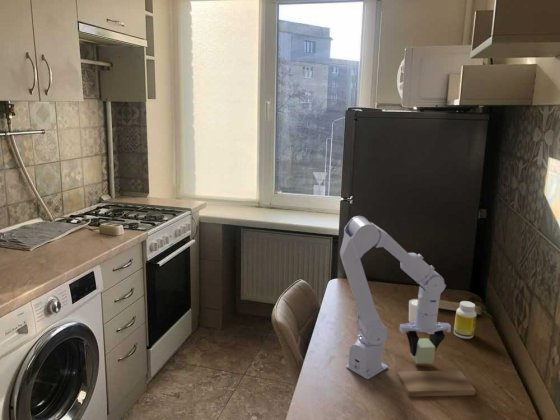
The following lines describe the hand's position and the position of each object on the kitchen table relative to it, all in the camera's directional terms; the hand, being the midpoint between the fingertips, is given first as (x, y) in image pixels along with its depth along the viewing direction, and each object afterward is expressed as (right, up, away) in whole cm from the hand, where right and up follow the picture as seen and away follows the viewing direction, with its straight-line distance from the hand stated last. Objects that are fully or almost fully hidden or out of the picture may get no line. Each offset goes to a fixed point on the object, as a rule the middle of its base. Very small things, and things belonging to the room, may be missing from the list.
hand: (422, 354), depth 135 cm
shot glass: (+7, +3, +27) cm, 28 cm away
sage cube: (0, -1, 0) cm, 1 cm away
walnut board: (+1, -6, -9) cm, 11 cm away
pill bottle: (+19, 0, +19) cm, 27 cm away
